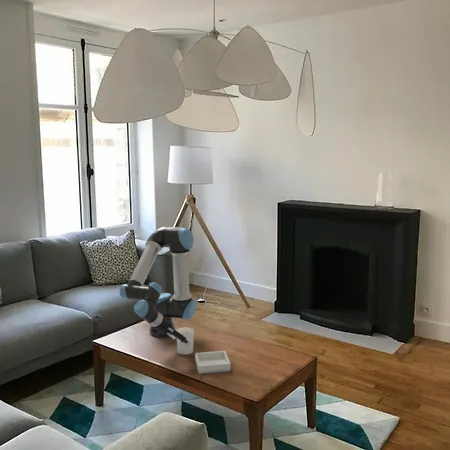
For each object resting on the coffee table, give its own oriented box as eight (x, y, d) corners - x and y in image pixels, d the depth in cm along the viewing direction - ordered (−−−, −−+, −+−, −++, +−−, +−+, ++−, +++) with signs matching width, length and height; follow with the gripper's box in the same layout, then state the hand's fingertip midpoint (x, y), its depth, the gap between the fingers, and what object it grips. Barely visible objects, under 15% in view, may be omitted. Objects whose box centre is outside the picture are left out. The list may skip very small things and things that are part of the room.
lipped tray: (195, 360, 272) (194, 353, 271) (225, 357, 275) (225, 350, 274) (198, 374, 257) (198, 366, 256) (230, 371, 259) (230, 363, 258)
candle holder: (191, 355, 277) (191, 334, 275) (174, 354, 279) (173, 333, 277) (196, 348, 287) (196, 327, 285) (179, 347, 289) (178, 326, 287)
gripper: (141, 320, 277) (165, 340, 289) (166, 334, 258) (192, 354, 270) (149, 308, 279) (173, 328, 291) (175, 321, 260) (200, 342, 272)
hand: (182, 341), depth 280 cm, fingers open, 13 cm apart
